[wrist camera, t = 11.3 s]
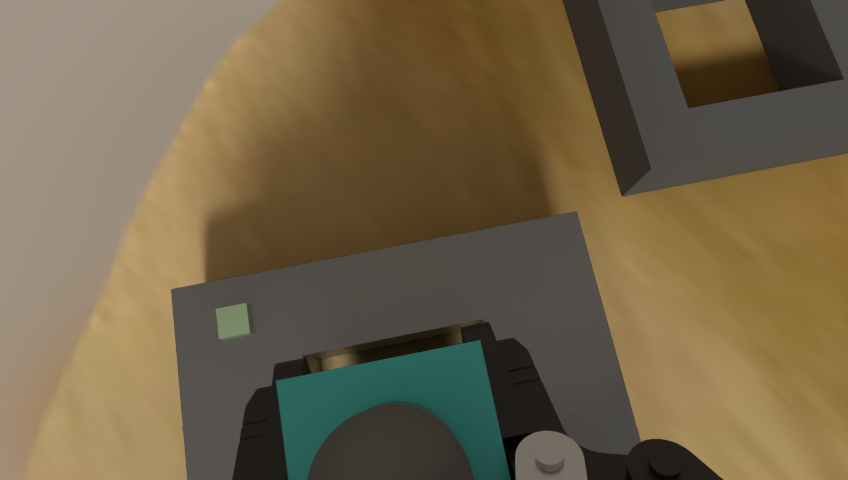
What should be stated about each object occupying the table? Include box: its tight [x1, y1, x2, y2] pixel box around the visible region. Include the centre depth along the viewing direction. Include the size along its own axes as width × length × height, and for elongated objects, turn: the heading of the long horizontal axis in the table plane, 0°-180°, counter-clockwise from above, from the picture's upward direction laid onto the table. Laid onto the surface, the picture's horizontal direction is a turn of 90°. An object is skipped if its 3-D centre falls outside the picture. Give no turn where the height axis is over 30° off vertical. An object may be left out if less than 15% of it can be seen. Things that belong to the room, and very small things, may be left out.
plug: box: [276, 340, 511, 480], centre depth 13 cm, size 4×4×10 cm
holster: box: [563, 0, 848, 196], centre depth 23 cm, size 10×10×3 cm
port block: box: [171, 211, 641, 480], centre depth 19 cm, size 14×12×3 cm
